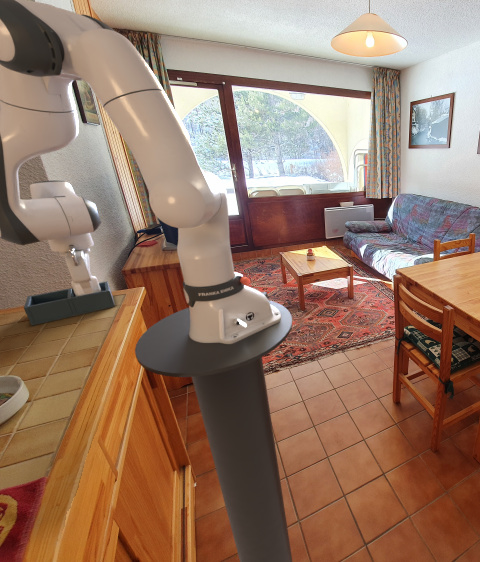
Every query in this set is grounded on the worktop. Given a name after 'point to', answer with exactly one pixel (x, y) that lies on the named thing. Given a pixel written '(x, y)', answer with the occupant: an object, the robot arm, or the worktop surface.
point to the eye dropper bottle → (79, 290)
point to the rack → (66, 304)
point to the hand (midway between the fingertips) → (88, 287)
